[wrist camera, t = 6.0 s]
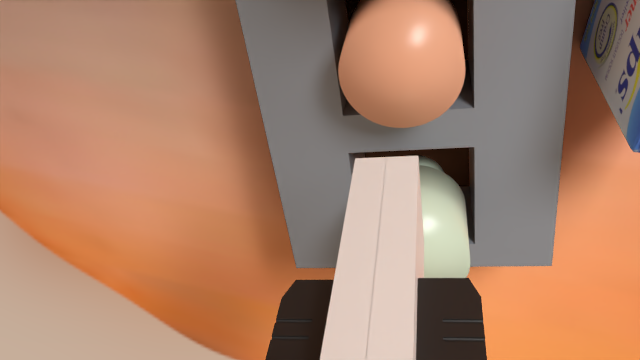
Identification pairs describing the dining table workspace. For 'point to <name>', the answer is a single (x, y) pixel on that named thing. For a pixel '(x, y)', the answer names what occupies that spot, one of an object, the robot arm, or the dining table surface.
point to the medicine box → (616, 60)
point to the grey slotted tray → (443, 132)
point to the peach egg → (402, 61)
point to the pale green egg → (443, 223)
